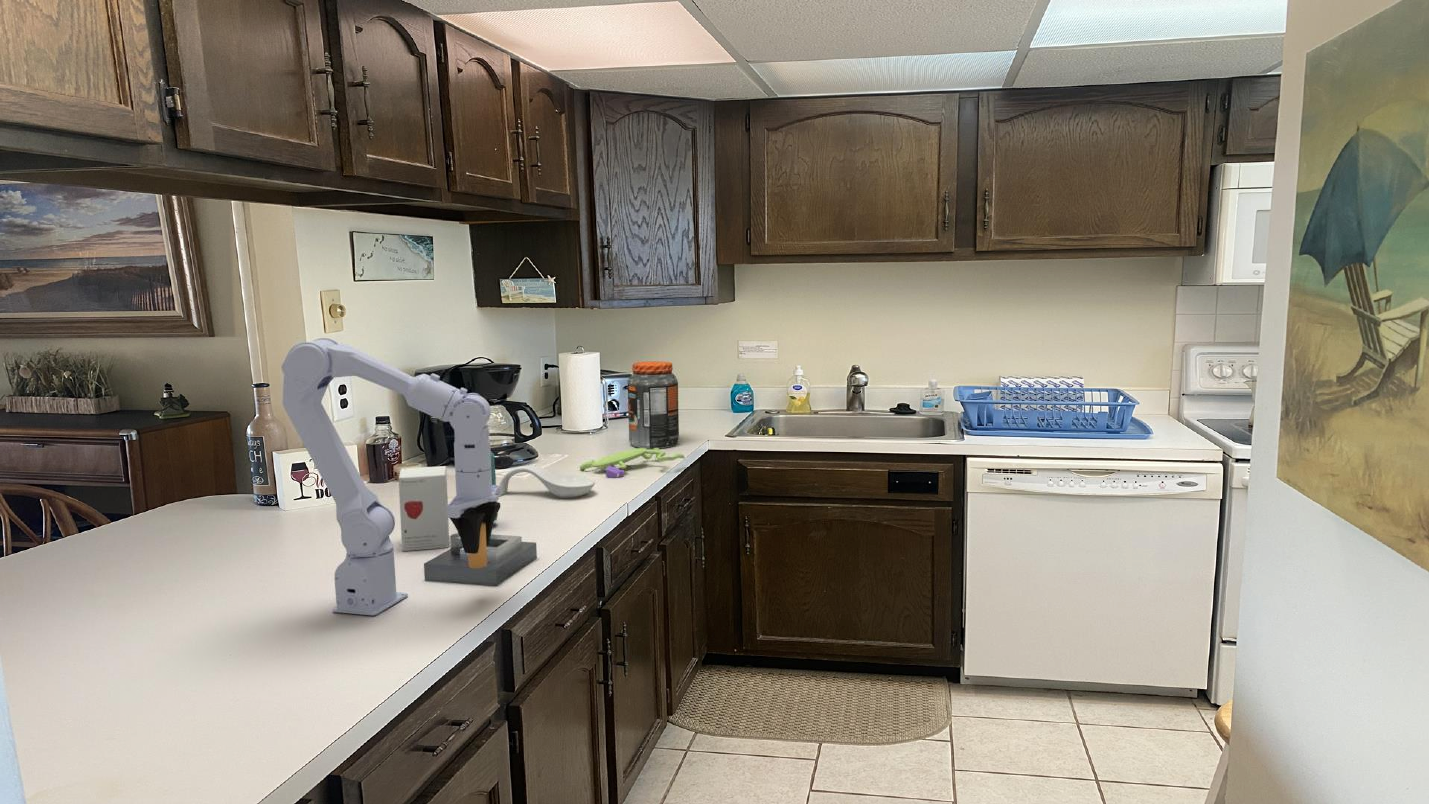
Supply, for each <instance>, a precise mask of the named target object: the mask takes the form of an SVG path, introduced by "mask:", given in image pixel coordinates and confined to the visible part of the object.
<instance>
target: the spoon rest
mask: <svg viewBox="0 0 1429 804" xmlns="http://www.w3.org/2000/svg"><path fill="white" fill-rule="evenodd" d="M520 473H527V474H531V475H533V476H534V477H535V478H536V479H538V481H540V483H541V484H542V485H544V487H545V488H547V490H548V491H549V492H550V493H552V494H553V495H554V496H556V497H557V498H561V499H574V498H579V497H581V496H584V495H586V494H588V493H589V492H590V491H592V489H593V488H594V486H595V483H596V481H595V480H594V479H592V478H590V477H586V476H582V475H581V476H580V475H575V474H569V473H564V472H559V471H555V470H550V469H548V468H547V469H546V468H543V467H540V466H533V465H522V466H521V465H520V466H517V467H514V468H513V469H512V470H510V471H508V472H507V473H505V474H504V476H502V478H501V479H500V482H499V484H498V486H501V496H503V495H506V493H508V490H509V489H508V488H509V481H510V480H511V478H512V477H514V475H517V474H520Z"/></svg>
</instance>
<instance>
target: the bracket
mask: <svg viewBox="0 0 1429 804" xmlns="http://www.w3.org/2000/svg"><path fill="white" fill-rule="evenodd" d="M522 540H523V539H522V535H510V534H509V535H508V534H507V535H506V534H505V535H504V534H492V533H491V537H490V542H489V546H488V547H487V562H488V563H497V562H499V561H500V560H502V559H504V558H505V557H507V556H508V555H510V554H511V553H513V552H514V551H516V550H518V549H519V548H521V547H522V542H523V541H522ZM460 558H461V561H468V553H465V551H464V548H462V549H460Z"/></svg>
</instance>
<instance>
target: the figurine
mask: <svg viewBox="0 0 1429 804" xmlns="http://www.w3.org/2000/svg"><path fill="white" fill-rule="evenodd" d="M648 454H649V455H648ZM653 455H655V459H654V461H656V460H657V461H662V462H665V461H667V462H668V461H674V460H677V459H685V454H683V453H675V454H674V455H672V456H666V452H665V451H663V450H660V448H654V449H646V448H638V447H637V448H633V449H628V450H623V451H618V452H616V453H612V454H609V455H606V456H604V457H602V458H600V459H598V460H596V461H595V460H594V459H591V460H589V461H586V462H584V463H582V464H580V466H579V469H580V470H581V471H584V470H587V469H588V468H590V467H593V468H600V469H601V471H603V472H605V477H608V478H610V477H614V478H613V479H618V478H623V477H624V475H625V474H624V472H625V470H624V469H626V468H627V467H631V465H627V464H626V463H628V462H630V461H633V460H635V459H638V458H640V457H642V458H643V459H645V460H650V459H651V458H652V457H653ZM616 465H618V466H616ZM622 476H623V477H622ZM617 477H618V478H617Z"/></svg>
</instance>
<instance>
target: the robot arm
mask: <svg viewBox="0 0 1429 804" xmlns="http://www.w3.org/2000/svg"><path fill="white" fill-rule="evenodd" d="M281 370H282V373H283V384H282V386H283V387H282V405H283V406H282V407H283V408H284V411H285V412H286V414H287V416H288V418H289V420H290V422H291V424H292V425H293V427H294V429H295V430H296V432H297V434H298V436H299V438H300V440H301V442H302V444H303V445H304V447H305V449H306V451H307V453H308V455H309V457H310V459H311V460H312V462H313V464H314V466H315V468H316V469H317V471H318V473H319V475H320V477H321V479H322V480H323V482H324V484H325V486H326V488H327V490H328V492H329V493H330V496H331V497H332V498H333V501H334V503H335V507H336V508H335V510H336V511H335V512H336V513H335V514H336V515H335V516H336V521H337V523H338V525H339V527H340V534H341V536H340V538H341V543H342V545H343V547H344V548H345V551H346V553H345V554H346V555H345V559H344V561H342V562H341V563H340V564H338V566H337V567H336V569H335V571H334V588H335V589H334V590H335V602H336V603H335V604H336V606H335V607H333V608H332V613H341V614H351V615H352V614H353V615H365V616H377V615H379V614H380V613H382V612H384V611H385V610H387V609H389V608H390V607H391V606H393V605H395V604H397V603H398V602H400V601H402V600H403V599H405V598H407V597H408V596H409V595H408V593H407V592H399V591H397V580H396V566H395V563H396V562H395V552H394V551H395V550H394V549H395V548H394V543H393V542H392V541H391V538H390V535H391V534H392V533H393V532H394V529H395V525H396V519H395V516H394V514H393V512H392V510H391V509H389V507H387V506H385V505H384V504H383V503H382V502H381V501H380V500H379V498H378V496H377V495H376V493H374V492H373V491H371V490H370V489H369V488H368V487H367V486H366V484H365V482H364V480H363V478H362V476H361V475H360V472H359V471H358V469H357V466H356V465H355V463H354V462H353V459H352V457H351V456H350V454H349V452H348V450H347V448H346V446H345V445H344V443H343V441H342V438H341V437H340V435H339V433H338V431H337V430H336V428H335V426H334V424H333V422H332V419H331V418H330V417H329V415H328V413H327V411H326V409H325V407H324V405H323V403H322V401H323V398H324V396H325V393H326V391H327V389H328V387H329V384H330V383H331V382H332V381H333V379H336V378H343V377H345V378H346V377H353V376H354V377H358V378H359V379H362V380H366V381H367V382H370V383H373V384H376V385H378V386H381V387H383V388H386V389H388V390H391V391H393V392H395V393H398V394H401V395H402V396H403V397H404V398H405V400H406V403H407V405H408V407H411V408H413V409H415V410H417V411H420V412H422V413H424V414H426V415H429V416H431V417H433V418H435V419H438V420H440V421H441V422H444V423H445V422H446V423H447V422H449V423H450V426H451V428H452V429H453V431H454V442H453V449H454V450H453V452H454V454H453V455H454V471H455V472H454V473H455V474H454V475H455V476H454V477H455V494H456V495H455V496H454V497H453V498H452V500H451V501H450V502H449V503H448V505H446V517H447V518H448V519H450V521H451V522H452V524H453V526H454V527H455V529H456V531H457V533H459V536H460V539H461V542H462V545H463V548H464V551H465V553H472V554H476V553H478V550H479V540H480V529H481V524H482V522H484V523H485V524H486V546H487V547H488V546H489V542H490V537H491V534H492V532H493V531H492V530H493V526H494V523H495V521H496V520H495V518H496V515H497V514H499V511H500V509H501V503H500V502H499V501H498V502H494V501H496V500H499V499H500V498H501V497H502V495H501V486H499V485H496V486H495V485H492V475H491V452H492V450H491V440H490V438H489V437H490V430H489V424H487V423H488V422H489V420H490V419H491V415H492V414H491V413H492V412H491V411H492V410H491V409H492V408H491V406H490V403H489V402H488V401H487V399H486V398H485V397H483V396H481V395H480V394H479V393H476V392H470V393H467V392H468V389H467V388H464V387H461V388H460V389H459V388H457V387H455V386H453V385H451V384H448V383H447V382H444V381H442V380H440V378H441V377H440V375H438V374H435V373H431V374H430V375H429V374H426V373H422V374H419V375H416V376H412V375H410V374H408V373H406V372H404V371H401V370H400V369H398V368H396V367H394V366H392V365H389V364H387V363H386V362H384V361H382V360H379V359H377V358H376V357H374V356H373V355H370V354H368V353H366V352H363V351H362V350H360V349H358V348H355V347H354V346H351V345H348V344H344V343H339V342H337V341H335V340H334V339H332V338H327V337H321V338H317V339H314V340H311V341H302V342H299V343H297V344H295V345H294V346H292V347H291V348H290V350H289V351H288V353H287V354H286V357H285V358H284V361H283V362H282V364H281ZM494 520H495V521H494Z"/></svg>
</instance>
